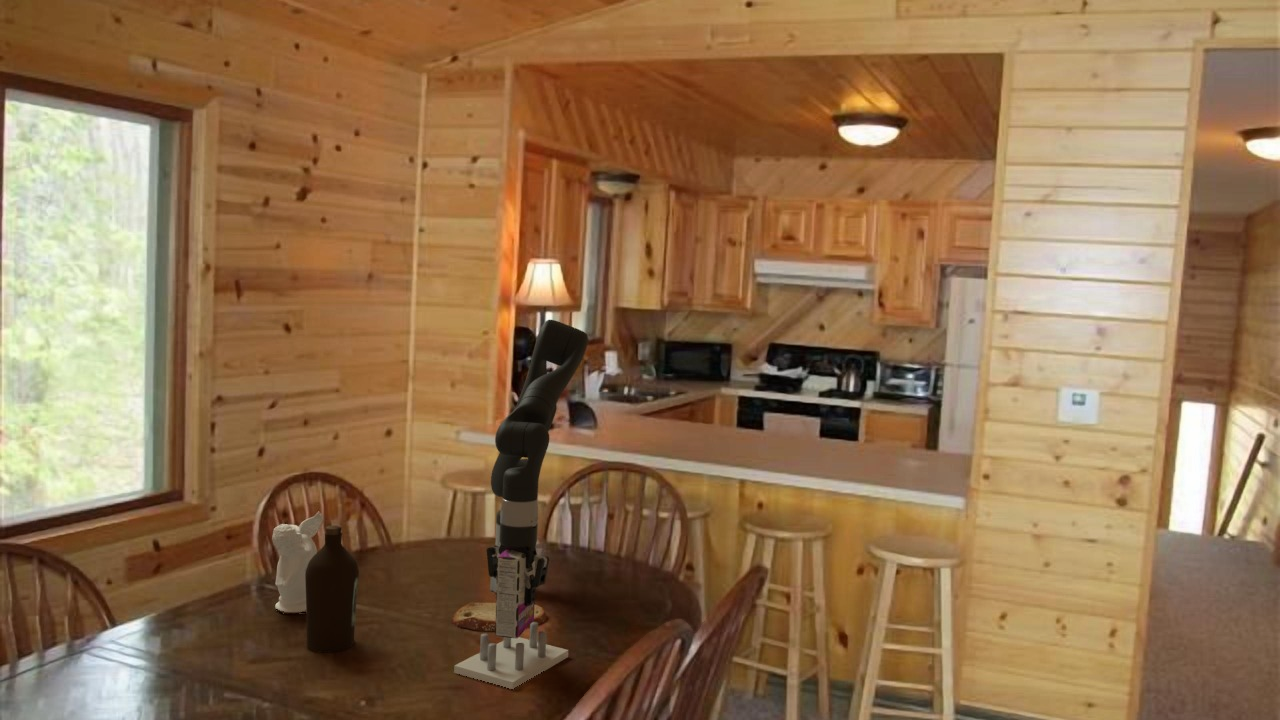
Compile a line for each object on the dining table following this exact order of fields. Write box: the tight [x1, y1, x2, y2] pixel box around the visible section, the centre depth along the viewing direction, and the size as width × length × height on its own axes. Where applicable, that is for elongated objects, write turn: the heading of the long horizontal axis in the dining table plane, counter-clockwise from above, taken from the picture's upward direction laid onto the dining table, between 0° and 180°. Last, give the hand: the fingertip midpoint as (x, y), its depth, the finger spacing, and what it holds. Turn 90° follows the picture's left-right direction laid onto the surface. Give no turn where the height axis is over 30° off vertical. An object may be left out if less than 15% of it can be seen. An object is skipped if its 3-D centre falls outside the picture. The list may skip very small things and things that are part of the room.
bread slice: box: [450, 601, 547, 632], centre depth 228 cm, size 18×18×4 cm
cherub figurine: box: [271, 510, 324, 612], centre depth 229 cm, size 12×12×22 cm
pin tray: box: [453, 622, 569, 690], centre depth 202 cm, size 14×20×6 cm
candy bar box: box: [494, 546, 537, 639], centre depth 201 cm, size 11×5×16 cm, turn 168°
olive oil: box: [305, 524, 360, 653], centre depth 207 cm, size 11×11×25 cm
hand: (515, 601), depth 201 cm, fingers closed on candy bar box, 5 cm apart
